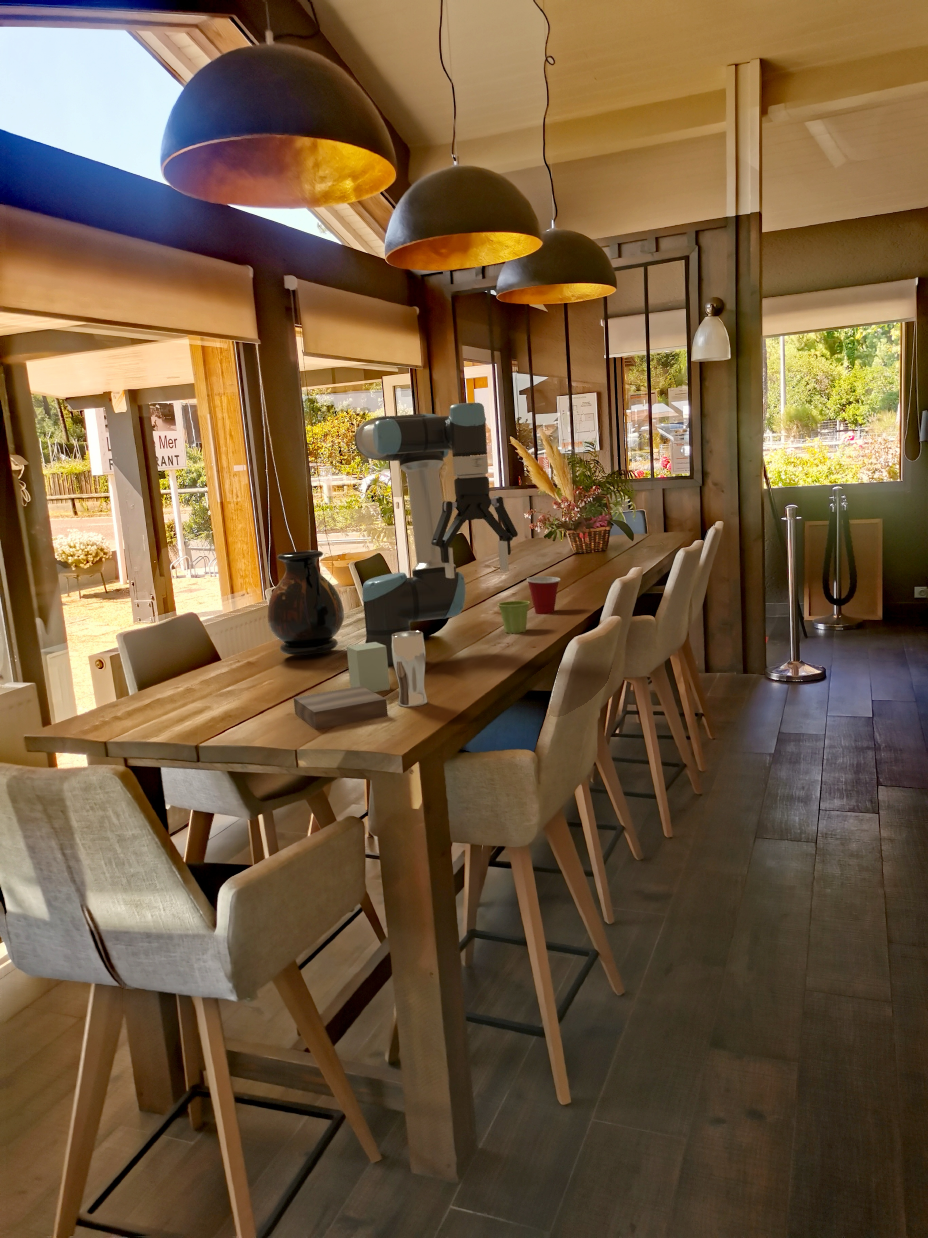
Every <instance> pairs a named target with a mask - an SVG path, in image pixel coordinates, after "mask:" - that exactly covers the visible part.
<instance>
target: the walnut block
mask: <svg viewBox="0 0 928 1238" xmlns="http://www.w3.org/2000/svg"><path fill="white" fill-rule="evenodd" d="M293 704H294V714H295V715H296V716H297V717H298V718H300V719H301V720H302V721H304V722H305V723H306V724H308V725H309V726H311V727H312V729H314V730H316V731H317V730H321V729H328V728H333V727H338V726H343V725H349V724H354V723H359V722H365V721H370V720H374V719H375V720H376V719H380V718H386V717H389V716H388V715H389V714H388V703H387V698H385V697H383V696H381V695H379V694H378V693H376V692H372V691H370V690H368V689H366V688H365V687H363V686H358V687H352V688H351V687H347V688H341V689H335V690H329V691H324V692H319V693H313V694H307V695H302V696H295V697H293Z"/></svg>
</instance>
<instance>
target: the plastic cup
mask: <svg viewBox="0 0 928 1238" xmlns="http://www.w3.org/2000/svg"><path fill="white" fill-rule="evenodd" d="M526 582H527V584H528V586H529V590H530V595H531V600H532V605H533V609H534V613H535V615H546V614H547V615H548V614H552V613H554V612H555V606H556V601H557V600H556V599H557V593H558V587H559V583H560V582H561V578H560V577H556V576H544V575H543V576H542V575H540V576H531V577H527V578H526Z"/></svg>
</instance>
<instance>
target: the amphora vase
mask: <svg viewBox="0 0 928 1238" xmlns="http://www.w3.org/2000/svg"><path fill="white" fill-rule="evenodd" d="M323 555H324V553H323V551H320V550H301V551H291V552H283V553H280V554H278V555H277V556H276V558H277V560H278V561H281V562H282V563H284V567H285V573H284V575H283V577H282V578H281V579H280V580H279V583H278V584H277V585H276V587H275V588H274V589H273V590H272V593H271V595H270V598H269V602H268V605H267V606H268V607H267V622H268V626H269V628H270V630H271V631H270V632H272V634H274V636H275V637H276V638H277V639H278V640H280V641H281V642H282V644H280V646H279V650H280V652H282V654H283V653H284V654H286V655H289V656H291V655H293V656H295V655H296V656H303V655H313V654H320V653H326V652H330V651H332V650H333V649H335V648H337V646H338V645H339V643H338V642H339V641H338V640H337V639H336V638H335V636H336V635H337V634H338V632H339V631H340V630H341V628H342V625H343V623H344V619H345V613H344V612H345V611H344V606H343V602H342V599H341V597H340V595H339V593H338V591H337V590H336V588H335V587H334V585H333V584H332V583H331V582H330V581H329V580H328V579H327V578H326V577H325V576H324V575H322V574H321V573H320V571H319V569H318V566H317V565H318V564H317V563H318V562H317V561H318V559H319V558H321V557H322V556H323Z"/></svg>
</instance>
